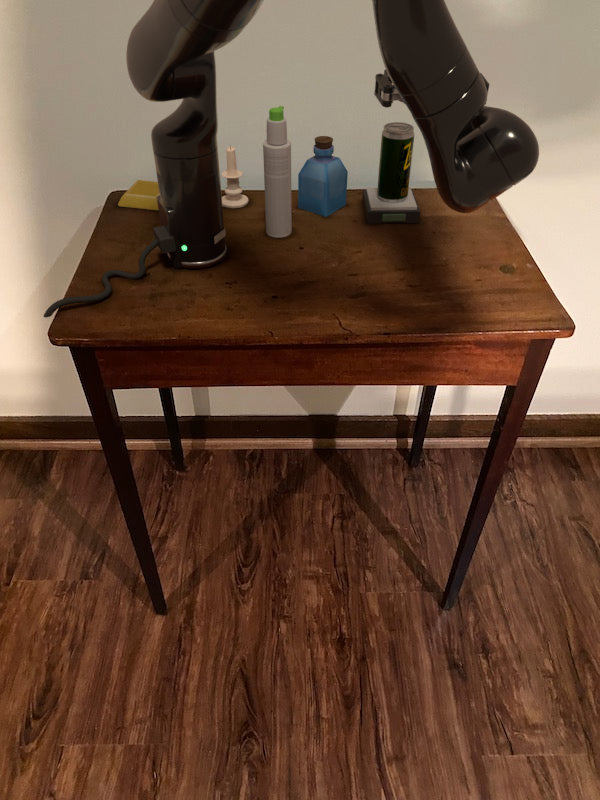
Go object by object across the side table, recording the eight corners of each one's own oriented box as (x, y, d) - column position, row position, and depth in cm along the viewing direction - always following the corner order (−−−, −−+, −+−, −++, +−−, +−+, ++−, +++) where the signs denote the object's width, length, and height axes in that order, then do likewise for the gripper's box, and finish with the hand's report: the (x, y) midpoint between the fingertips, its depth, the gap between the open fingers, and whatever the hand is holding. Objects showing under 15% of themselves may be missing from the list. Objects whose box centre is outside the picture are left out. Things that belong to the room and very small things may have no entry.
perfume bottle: (326, 217, 117) (328, 148, 109) (298, 207, 120) (298, 140, 112) (346, 204, 121) (349, 137, 113) (318, 196, 123) (319, 130, 116)
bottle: (297, 231, 113) (296, 109, 99) (278, 240, 110) (275, 116, 97) (279, 223, 115) (276, 102, 102) (260, 232, 113) (255, 109, 99)
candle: (243, 209, 119) (240, 152, 112) (216, 206, 120) (211, 149, 113) (252, 197, 123) (249, 141, 116) (225, 194, 124) (220, 138, 117)
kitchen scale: (367, 224, 115) (368, 209, 113) (362, 201, 122) (363, 186, 120) (419, 224, 115) (421, 209, 113) (411, 200, 122) (412, 186, 120)
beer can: (373, 201, 115) (379, 131, 107) (379, 189, 119) (385, 120, 111) (404, 205, 114) (412, 134, 106) (409, 192, 118) (417, 123, 110)
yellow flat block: (114, 195, 119) (116, 206, 120) (160, 200, 117) (162, 211, 119) (133, 175, 125) (135, 186, 126) (177, 180, 124) (178, 190, 125)
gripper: (510, 77, 79) (474, 42, 91) (392, 79, 78) (371, 44, 90) (498, 141, 84) (465, 100, 96) (386, 143, 83) (367, 102, 95)
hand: (419, 73), depth 93 cm, fingers open, 8 cm apart
